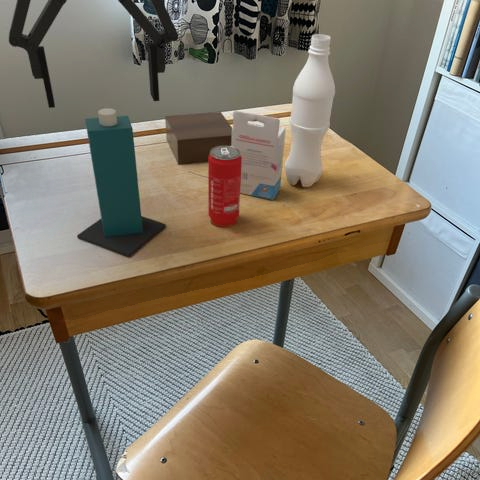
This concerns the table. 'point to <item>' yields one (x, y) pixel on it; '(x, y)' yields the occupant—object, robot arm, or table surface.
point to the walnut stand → (196, 135)
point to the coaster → (122, 237)
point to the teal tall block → (115, 172)
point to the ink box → (259, 153)
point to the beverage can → (224, 185)
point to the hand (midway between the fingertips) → (104, 100)
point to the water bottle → (310, 114)
